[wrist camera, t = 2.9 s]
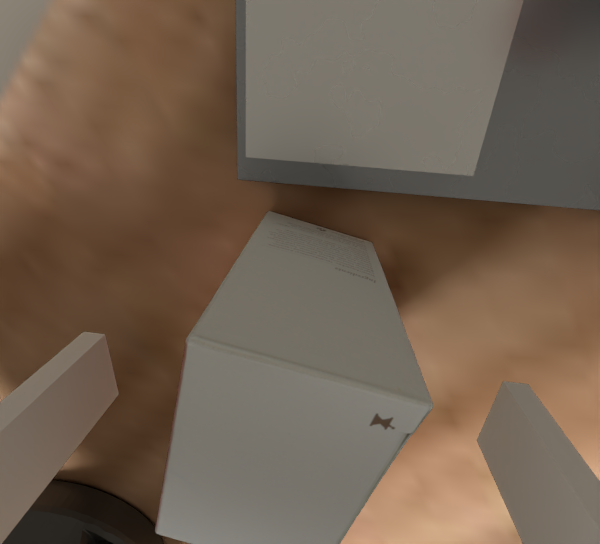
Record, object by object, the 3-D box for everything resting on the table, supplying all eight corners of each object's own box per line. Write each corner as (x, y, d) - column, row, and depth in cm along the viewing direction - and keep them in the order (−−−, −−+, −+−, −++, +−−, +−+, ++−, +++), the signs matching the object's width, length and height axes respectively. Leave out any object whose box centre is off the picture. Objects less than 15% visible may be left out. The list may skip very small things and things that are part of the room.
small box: (268, 207, 16) (181, 329, 6) (375, 240, 16) (443, 404, 7) (235, 334, 19) (146, 539, 10) (325, 360, 20) (323, 584, 10)
